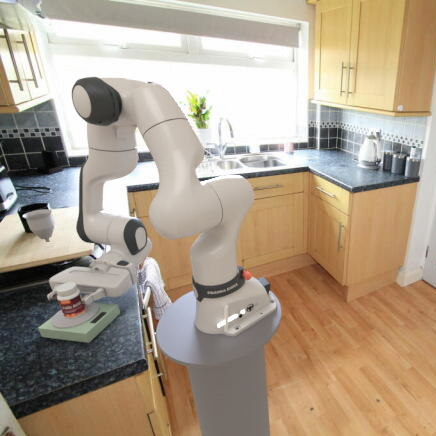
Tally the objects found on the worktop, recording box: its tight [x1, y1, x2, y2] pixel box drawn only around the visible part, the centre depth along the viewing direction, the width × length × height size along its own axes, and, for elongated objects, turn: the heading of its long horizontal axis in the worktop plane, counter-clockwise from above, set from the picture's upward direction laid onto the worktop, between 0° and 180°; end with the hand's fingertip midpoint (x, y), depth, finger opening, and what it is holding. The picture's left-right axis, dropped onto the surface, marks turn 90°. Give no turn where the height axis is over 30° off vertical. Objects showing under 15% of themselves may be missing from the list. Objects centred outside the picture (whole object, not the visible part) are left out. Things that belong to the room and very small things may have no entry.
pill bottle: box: [56, 282, 86, 319], centre depth 81 cm, size 5×5×8 cm
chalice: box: [22, 209, 55, 243], centre depth 108 cm, size 7×7×18 cm
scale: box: [37, 301, 121, 344], centre depth 84 cm, size 11×13×4 cm
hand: (67, 300), depth 80 cm, fingers open, 8 cm apart
